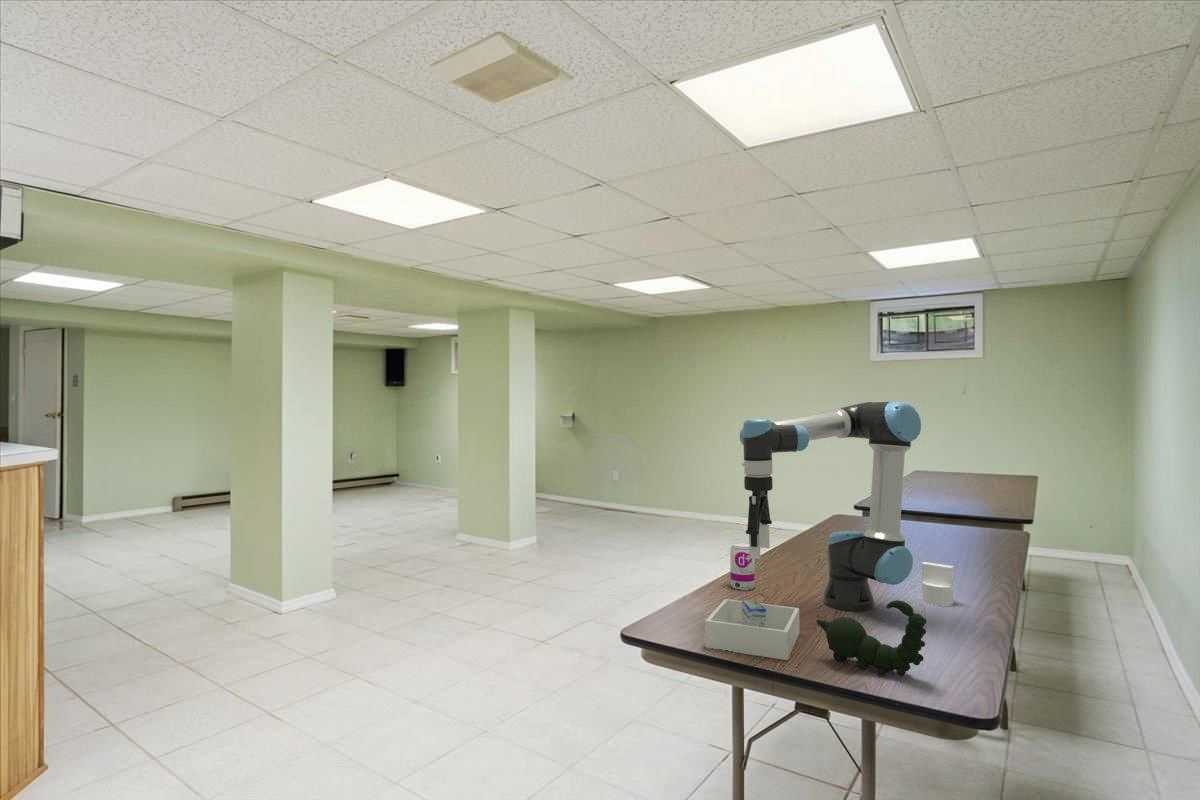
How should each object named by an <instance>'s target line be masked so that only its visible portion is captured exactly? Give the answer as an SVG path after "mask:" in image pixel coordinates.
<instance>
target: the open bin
mask: <svg viewBox="0 0 1200 800" xmlns="http://www.w3.org/2000/svg"><path fill="white" fill-rule="evenodd" d="M742 601H743V600H736V599H727V598H725V599H723V601H721V603H720V604H719V605H718V606H717V607H716V608H715V610H714V611H713V612H712V613H710V615H709V616H708V617H707V618H706V619H705V620H704V621H705V622H704V623H705V624H704V625H705V627H704V628H705V630H704V631H705V632H704V633H705V644H704V645H705V646H704V647H705V648H707V649H712V648H713V649H712V650H719V649H722V650H721V651H725V650H728V651H727V652H731V651H733V653H738V652H739V653H740V654H745V655H752V656H757V657H763V658H764V657H766V658H771V659H777V660H782V661H788V660H789V658H790V656H791V653H792V651H793V649H794V647H795V645H796V642H797V640H798V638H799V636H800V608H799V607H791V606H784V605H775V604H767V603H761V602H759V603H760V604H761V605H762V606H763V607H764V608H765V609H766V628H763V627H756V626H749V625H742ZM739 653H738V654H739Z"/></svg>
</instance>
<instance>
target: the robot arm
mask: <svg viewBox="0 0 1200 800" xmlns="http://www.w3.org/2000/svg"><path fill="white" fill-rule="evenodd" d="M921 430H922V422H921V417H920V414H919V412H918V411H916V408H915V407H914V406H913V405H911V404H909V403H907V402H903V401H880V402H879V401H876V402H874V401H865V402H860V403H856V404H852V405H847V406H843V407H837V408H835V409H833V410H831V411H830V412H825V413H822V414H821V413H820V414H815V415H808V416H801V417H795V418H789V419H782V420H776V421H775V420H774V421H772V420H770V419H769V418H768V419H767V418H755V419H754V418H751V419H746V420H744V421H743V427H742V428H741V429H740V432H739V441H740V443H741V444H742V446H743V462H742V464H741V467H743V469H744V471H743V472H744V475H745V476H744V477H743V481H744V482H743V483H744V484H743V485H744V486H743V487H744V489H745V490H746V491H749V492H752V493H751V495H749V497H748V503H749V504H748V517H747V518H748V519H747V527H746V528H747V529H746V530H745V535H748V543H749V552H750V558H751V559H755V560H761V548H763V549H770V525H772V524H773V521H772V520H771V515H770V507H769V506H770V505H769V498H768V497H769V496H768V493H769V492H770V491H772V490H773V477H772V476H771V475H772V474H773V454H775V453H791V452H792V453H796V452H802V451H804V450H806V449H807V447H808V446H809V443H810V441H815V440H821V439H827V438H831V437H835V438H838V439H846V438H855V439H857V438H858V439H866V440H867V439H868V445H869V446H870V447H871V449H872V450H873V459H872V460H873V461H872V472H871V475H872V476H871V488H870V489H871V491H870V505H869V506H870V507H869V519H868V520H869V521H868V529H867V530H866V531H863V530H862V531H861V530H845V531H835V532H834V531H833V532H832V533H830V535H828V536H829V537H828V544H827V548H828V580H827V583H826V586H825V589H824V592H823V603H824V604H825V605H826V606H828V607H831V608H834V609H837V610H844V611H851V612H852V611H854V612H861V611H862V612H863V611H870V610H872V609H874V607H875V598H874V595H873V591H872V590H871V586H870V583H869V579H870V580H873V581H876V582H878V583H880V584H887V585H891V586H893V585H899V584H901V583H903V582H904V581H905V580H906V579H907V578H908V577H909V576H910V574H911V572H912V569H913V565H914V558H913V555H912V553H911V551H910V550H909V549H908V548H907V547H905V544H906V538H905V537H904V536H903V535H902V534H901V520H902V519H901V517H902V503H903V502H902V500H903V487H904V486H903V485H904V473H905V472H904V471H905V469H904V467H905V454H906V452H907V451H909V450H910V449H912V448H911V447H912V442H913V441H915V440H916V439H918V436H920V434H921ZM768 491H769V492H768Z"/></svg>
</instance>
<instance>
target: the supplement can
mask: <svg viewBox="0 0 1200 800" xmlns="http://www.w3.org/2000/svg"><path fill="white" fill-rule="evenodd" d="M729 550H730V559H729V561H730V562H729V563H730V566H729V567H730V568H729V569H730V571H729V572H730V573H729V574H730V586H731V587H732V589H734V588H735V589H734V590H737V589H740V590H739V591H750V590H749V589H751V590H753V589H754V588H755V586H756V585H755V583H756V581H755V580H756V578H755V577H756V574H755V572H756V571H755V567H756V566H755V560H756V559H751V558H750V552H749V542H734V543H732V544H731V547H730V549H729Z"/></svg>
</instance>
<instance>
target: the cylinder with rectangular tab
mask: <svg viewBox="0 0 1200 800" xmlns="http://www.w3.org/2000/svg"><path fill="white" fill-rule="evenodd" d="M954 585H955V584H954V566H953V565H949V564H947V565H946V564H942V563H934V562H929V561H924V562H921V596H922V597H921V600H923V601H924V602H926V603H925V604H927V603H929V604H928V605H930V604H933V605H932V606H935V605H940V606H939V607H947V606H946V605H952V604H953V603H955V602H954V601H955V600H954V598H955V597H954V596H955V594H954V593H955V591H954V589H955V587H954ZM923 601H922V602H923ZM924 602H923V603H924ZM943 605H944V606H943ZM952 606H953V605H952Z"/></svg>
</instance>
